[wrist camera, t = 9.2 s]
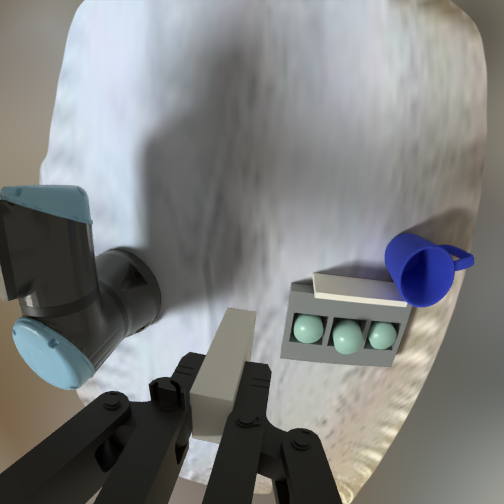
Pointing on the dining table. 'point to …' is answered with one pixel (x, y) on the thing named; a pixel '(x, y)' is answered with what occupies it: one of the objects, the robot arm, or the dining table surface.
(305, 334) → the button left
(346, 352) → the button middle
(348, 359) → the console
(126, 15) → the dining table surface
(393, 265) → the mug
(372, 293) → the pattern card
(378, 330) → the button right
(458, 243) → the dining table surface
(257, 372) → the robot arm
